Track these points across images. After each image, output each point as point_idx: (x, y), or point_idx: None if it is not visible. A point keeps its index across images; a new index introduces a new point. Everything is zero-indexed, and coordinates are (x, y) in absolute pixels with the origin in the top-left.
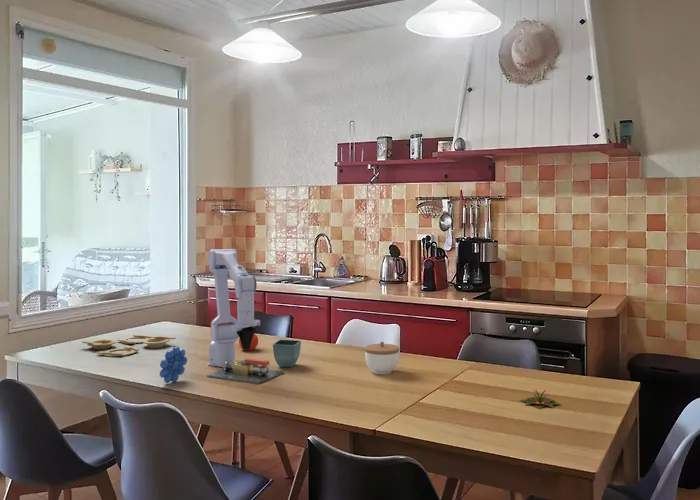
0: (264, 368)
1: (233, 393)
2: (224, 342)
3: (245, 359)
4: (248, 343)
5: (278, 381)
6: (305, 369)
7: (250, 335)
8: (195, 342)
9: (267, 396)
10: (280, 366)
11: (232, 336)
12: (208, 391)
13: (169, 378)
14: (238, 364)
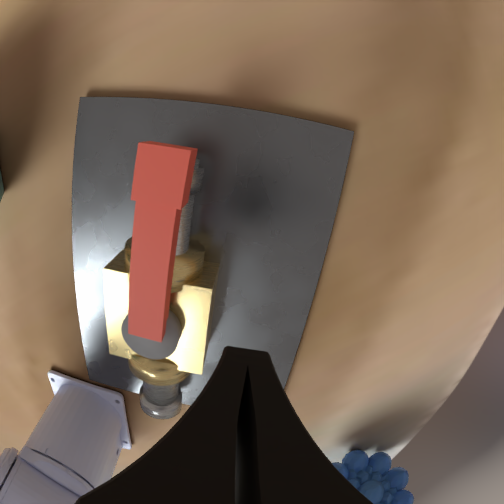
0: None
1: (497, 203)
2: (81, 481)
3: (162, 337)
4: (275, 395)
5: (259, 44)
6: (11, 50)
7: (264, 483)
8: None
9: (500, 46)
10: (1, 187)
11: (33, 475)
12: (473, 311)
13: (389, 459)
14: (191, 352)
